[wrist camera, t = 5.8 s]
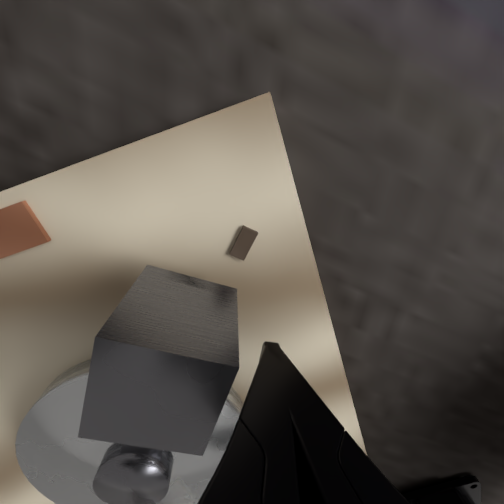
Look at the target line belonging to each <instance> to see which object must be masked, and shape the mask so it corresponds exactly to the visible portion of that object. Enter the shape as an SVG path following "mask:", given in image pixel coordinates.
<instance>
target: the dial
mask: <svg viewBox="0 0 504 504" xmlns="http://www.w3.org/2000/svg"><path fill="white" fill-rule="evenodd" d="M238 370H239V338H238V304H237V289H236V288H233V287H229V286H225V285H222V284H218V283H214V282H210V281H207V280H203V279H199V278H195V277H192V276H188V275H184V274H181V273H177V272H173V271H169V270H166V269H162V268H158V267H154V266H151V265H147V266H146V267H145V268H144V270H143V271H142V273H141V274H140V275H139V277H138V278H137V280H136V281H135V282H134V284H133V285H132V286H131V288H130V289H129V291H128V292H127V293H126V295H125V296H124V297H123V299H122V300H121V302H120V303H119V304H118V306H117V307H116V309H115V310H114V311H113V313H112V314H111V315H110V317H109V318H108V320H107V321H106V322H105V324H104V325H103V327H102V328H101V329H100V331H99V332H98V333H97V335H96V336H95V340H94V346H93V351H92V357H91V359H90V360H87V361H84V362H82V363H79V364H77V365H75V366H74V367H72V368H70V369H68V370H66V371H65V372H64V373H62V374H61V375H60V376H58V377H57V378H56V379H55V380H54V381H53V382H52V383H51V384H50V385H49V386H48V387H47V388H46V390H45V391H44V392H43V393H42V395H41V396H40V397H39V399H38V400H37V401H36V403H35V404H34V405H33V406H32V408H31V409H30V410H29V412H28V413H27V415H26V416H25V418H24V419H23V421H22V422H21V424H20V427H19V429H18V432H17V436H16V442H15V448H16V456H17V460H18V464H19V466H20V468H21V470H22V472H23V474H24V475H25V477H26V478H27V479H28V481H29V482H30V483H31V484H32V485H33V486H34V487H35V488H36V489H37V490H38V491H39V492H40V493H41V494H43V495H44V496H45V497H46V498H48V499H49V500H51V501H53V502H54V503H56V504H197V503H198V501H199V500H200V498H201V496H202V494H203V492H204V490H205V489H206V487H207V485H208V483H209V481H210V479H211V478H212V476H213V474H214V472H215V470H216V468H217V466H218V464H219V462H220V460H221V458H222V456H223V454H224V452H225V450H226V447H227V445H228V443H229V440H230V438H231V435H232V433H233V430H234V427H235V425H236V422H237V421H238V417H239V414H240V412H241V409H242V406H243V404H244V403H243V401H242V399H241V398H240V396H239V395H238V393H237V392H236V391H235V390H234V389H233V387H232V384H233V382H234V380H235V377H236V375H237V372H238Z"/></svg>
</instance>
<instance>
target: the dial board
mask: <svg viewBox="0 0 504 504" xmlns="http://www.w3.org/2000/svg"><path fill="white" fill-rule="evenodd" d="M147 265H151V266H154V267H158V268H162V269H166V270H169V271H173V272H177V273H181V274H184V275H188V276H192V277H195V278H199V279H203V280H207V281H210V282H214V283H218V284H222V285H225V286H229V287H233V288H236V289H237V304H238V338H239V370H238V372H237V375H236V377H235V380H234V382H233V384H232V387H233V389H234V390H235V391H236V392H237V393H238V395H239V396H240V398H241V399H242V401H243V403H244V401H245V398H246V396H247V393H248V390H249V388H250V385H251V382H252V379H253V377H254V374H255V371H256V369H257V366H258V363H259V358H260V354H261V350H262V345H263V343H264V342H265V341H268V342H276V343H279V345H280V348H281V349H282V350H283V352H284V353H285V354H286V355H287V357H288V358H289V359H290V360H291V362H292V363H293V364H294V365H295V367H296V368H297V369H298V370H299V372H300V373H301V374H302V375H303V377H304V378H305V379H306V380H307V382H308V383H309V384H310V385H311V387H312V388H313V389H314V390H315V392H316V393H317V394H318V395H319V397H320V398H321V399H322V401H323V402H324V403H325V404H326V406H327V407H328V408H329V409H330V411H331V412H332V413H333V414H334V416H335V417H336V418H337V419H338V421H339V422H340V423H341V424H342V426H343V427H344V429H345V430H344V431H347V432H348V433H349V434H350V436H351V437H352V438H353V439H354V441H355V442H356V443H357V444H358V445H359V447H360V448H361V449H362V450H363V451H364V453H365V454H366V455H367V453H366V450H365V446H364V442H363V438H362V435H361V431H360V427H359V423H358V420H357V416H356V412H355V408H354V405H353V401H352V397H351V393H350V390H349V386H348V382H347V378H346V375H345V371H344V367H343V363H342V360H341V356H340V352H339V348H338V345H337V341H336V337H335V333H334V330H333V326H332V322H331V318H330V315H329V311H328V307H327V303H326V300H325V296H324V292H323V288H322V285H321V281H320V277H319V273H318V270H317V266H316V262H315V258H314V255H313V251H312V247H311V243H310V240H309V236H308V232H307V228H306V225H305V221H304V217H303V213H302V210H301V206H300V202H299V199H298V195H297V191H296V187H295V184H294V180H293V176H292V172H291V169H290V165H289V161H288V157H287V154H286V150H285V146H284V142H283V139H282V135H281V131H280V127H279V124H278V120H277V116H276V112H275V109H274V105H273V101H272V97H271V94H270V92H268V93H265V94H263V95H260V96H257V97H255V98H252V99H249V100H247V101H244V102H241V103H239V104H236V105H233V106H230V107H228V108H225V109H222V110H220V111H217V112H214V113H212V114H209V115H206V116H203V117H201V118H198V119H195V120H193V121H190V122H187V123H185V124H182V125H179V126H176V127H174V128H171V129H168V130H166V131H163V132H160V133H158V134H155V135H152V136H150V137H147V138H144V139H141V140H139V141H136V142H133V143H131V144H128V145H125V146H123V147H120V148H117V149H114V150H112V151H109V152H106V153H104V154H101V155H98V156H96V157H93V158H90V159H88V160H85V161H82V162H79V163H77V164H74V165H71V166H69V167H66V168H63V169H61V170H58V171H55V172H52V173H50V174H47V175H44V176H42V177H39V178H36V179H34V180H31V181H28V182H25V183H23V184H20V185H17V186H15V187H12V188H9V189H7V190H4V191H1V192H0V504H56V503H54V502H53V501H51V500H49V499H48V498H46V497H45V496H44V495H43V494H41V493H40V492H39V491H38V490H37V489H36V488H35V487H34V486H33V485H32V484H31V483H30V482H29V481H28V479H27V478H26V477H25V475H24V474H23V472H22V470H21V468H20V466H19V464H18V460H17V456H16V448H15V442H16V436H17V432H18V429H19V427H20V424H21V422H22V421H23V419H24V418H25V416H26V415H27V413H28V412H29V410H30V409H31V408H32V406H33V405H34V404H35V403H36V401H37V400H38V399H39V397H40V396H41V395H42V393H43V392H44V391H45V390H46V388H47V387H48V386H49V385H50V384H51V383H52V382H53V381H54V380H55V379H56V378H57V377H58V376H60V375H61V374H62V373H64V372H65V371H66V370H68V369H70V368H72V367H74V366H75V365H77V364H79V363H82V362H84V361H87V360H90V359H91V357H92V351H93V346H94V340H95V336H96V335H97V333H98V332H99V331H100V329H101V328H102V327H103V325H104V324H105V322H106V321H107V320H108V318H109V317H110V315H111V314H112V313H113V311H114V310H115V309H116V307H117V306H118V304H119V303H120V302H121V300H122V299H123V297H124V296H125V295H126V293H127V292H128V291H129V289H130V288H131V286H132V285H133V284H134V282H135V281H136V280H137V278H138V277H139V275H140V274H141V273H142V271H143V270H144V268H145V267H146V266H147Z"/></svg>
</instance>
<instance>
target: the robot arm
mask: <svg viewBox="0 0 504 504" xmlns="http://www.w3.org/2000/svg"><path fill="white" fill-rule="evenodd" d="M344 430H345V429H344V427H343V426H342V424H341V423H340V422H339V421H338V419H337V418H336V417H335V416H334V414H333V413H332V412H331V411H330V409H329V408H328V407H327V406H326V404H325V403H324V402H323V401H322V399H321V398H320V397H319V395H318V394H317V393H316V392H315V390H314V389H313V388H312V387H311V385H310V384H309V383H308V382H307V380H306V379H305V378H304V377H303V375H302V374H301V373H300V372H299V370H298V369H297V368H296V367H295V365H294V364H293V363H292V362H291V360H290V359H289V358H288V357H287V355H286V354H285V353H284V352H283V350H282V349H281V348H280V345H279V343H276V342H268V341H265V342H264V343H263V345H262V350H261V354H260V358H259V363H258V366H257V369H256V371H255V374H254V377H253V379H252V382H251V385H250V388H249V390H248V393H247V396H246V398H245V401H244V404H243V406H242V409H241V412H240V414H239V417H238V421H237V422H236V425H235V427H234V430H233V433H232V435H231V438H230V440H229V443H228V445H227V447H226V450H225V452H224V454H223V456H222V458H221V460H220V462H219V464H218V466H217V468H216V470H215V472H214V474H213V476H212V478H211V479H210V481H209V483H208V485H207V487H206V489H205V490H204V492H203V494H202V496H201V498H200V500H199V501H198V503H197V504H481V483H480V482H479V481H478V479H477V478H476V477H475V476H467V477H464V478H460V479H456V480H452V481H449V482H445V483H441V484H438V485H434V486H430V487H427V488H423V489H419V490H416V491H412V492H408V493H405V494H401V493H400V492H399V491H398V490H397V489H396V488H395V487H394V486H393V485H392V484H391V482H390V481H389V480H388V479H387V478H386V477H385V476H384V475H383V474H382V472H381V471H380V470H379V469H378V468H377V467H376V466H375V465H374V463H373V462H372V461H371V460H370V459H369V458H368V456H367V455H366V454H365V453H364V451H363V450H362V449H361V448H360V447H359V445H358V444H357V443H356V442H355V441H354V439H353V438H352V437H351V436H350V434H349V433H348V432H347V431H344Z"/></svg>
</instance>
